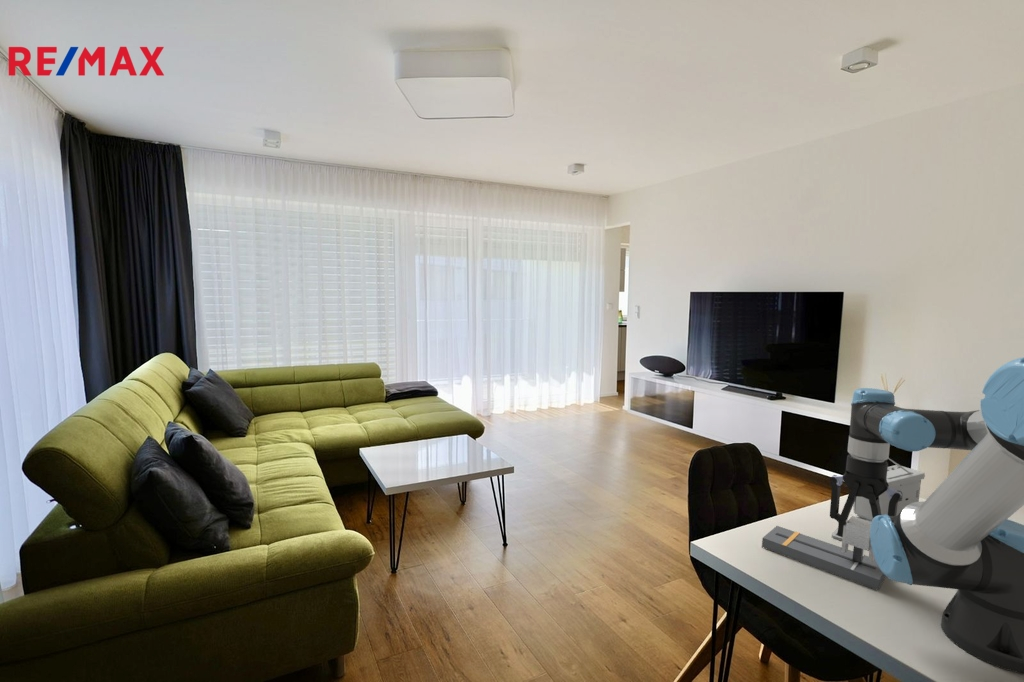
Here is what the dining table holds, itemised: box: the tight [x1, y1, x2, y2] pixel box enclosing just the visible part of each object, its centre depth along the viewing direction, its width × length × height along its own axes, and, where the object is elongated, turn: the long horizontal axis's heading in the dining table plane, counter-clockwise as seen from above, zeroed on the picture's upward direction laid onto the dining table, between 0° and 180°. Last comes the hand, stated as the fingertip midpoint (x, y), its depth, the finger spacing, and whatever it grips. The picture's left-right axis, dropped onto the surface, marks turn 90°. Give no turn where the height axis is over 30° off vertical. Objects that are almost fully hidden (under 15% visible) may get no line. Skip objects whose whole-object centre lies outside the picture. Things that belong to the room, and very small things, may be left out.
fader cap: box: [845, 515, 872, 563], centre depth 112 cm, size 4×5×9 cm
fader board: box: [761, 525, 887, 591], centre depth 118 cm, size 24×10×3 cm, turn 43°
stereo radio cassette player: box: [852, 457, 926, 522], centre depth 143 cm, size 21×8×20 cm, turn 115°
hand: (858, 554), depth 113 cm, fingers closed on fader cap, 4 cm apart
